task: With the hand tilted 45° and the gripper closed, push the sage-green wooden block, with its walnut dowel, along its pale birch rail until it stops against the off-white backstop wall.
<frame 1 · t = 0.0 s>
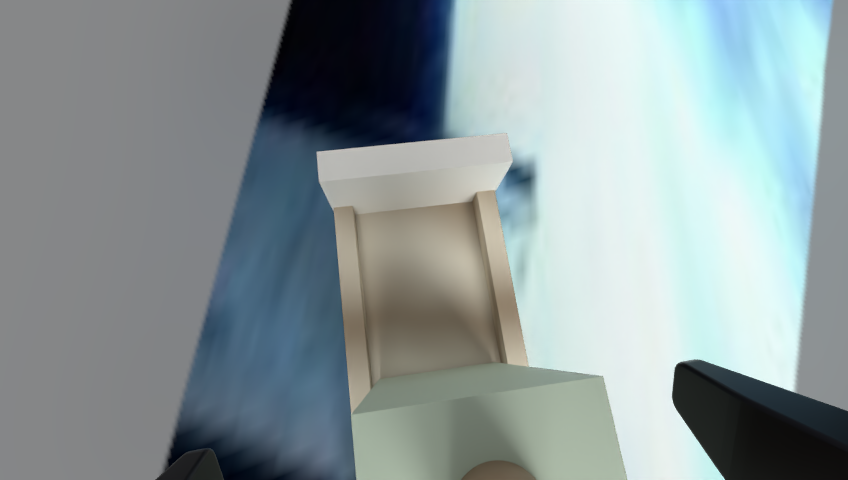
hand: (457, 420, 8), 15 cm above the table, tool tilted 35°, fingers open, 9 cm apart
sliding block: (467, 461, 13), point 9 cm above the table, slide at 0.0 cm
birch rail: (430, 331, 23), on the table
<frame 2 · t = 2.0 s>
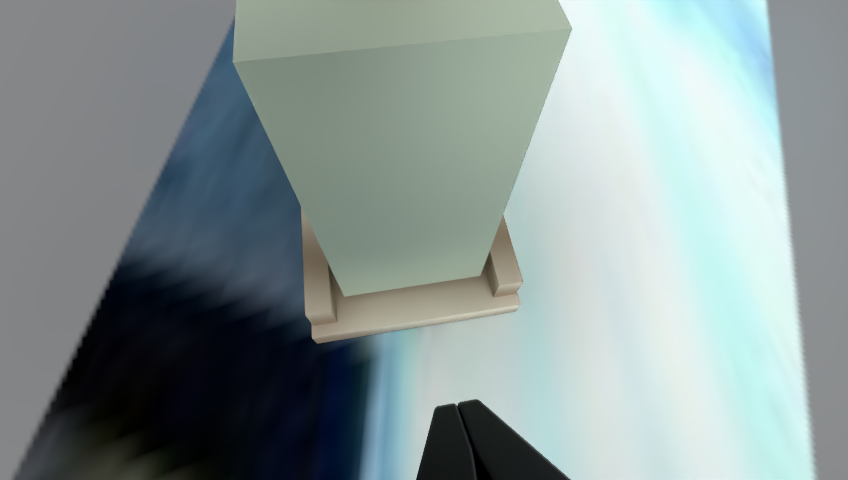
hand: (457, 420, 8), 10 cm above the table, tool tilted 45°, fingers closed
sliding block: (398, 120, 12), point 9 cm above the table, slide at 0.0 cm
birch rail: (393, 173, 22), on the table
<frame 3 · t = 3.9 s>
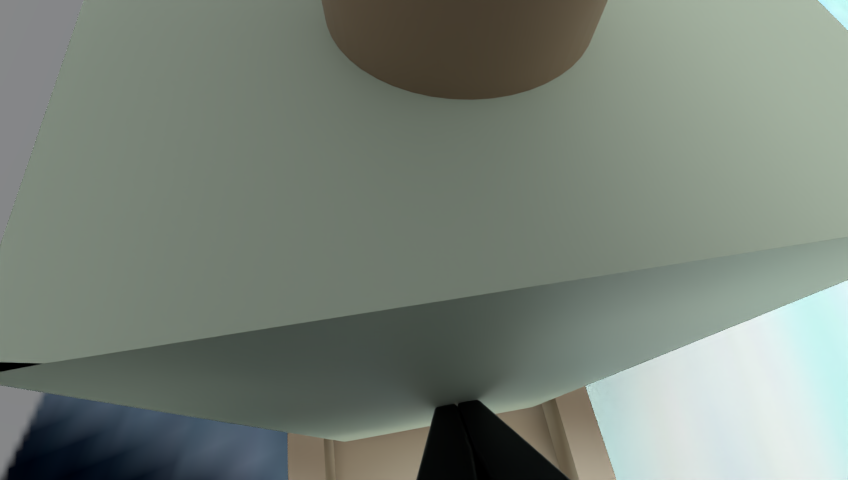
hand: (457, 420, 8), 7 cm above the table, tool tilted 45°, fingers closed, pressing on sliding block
sliding block: (436, 247, 7), point 9 cm above the table, slide at 1.5 cm, touching gripper
birch rail: (413, 277, 17), on the table
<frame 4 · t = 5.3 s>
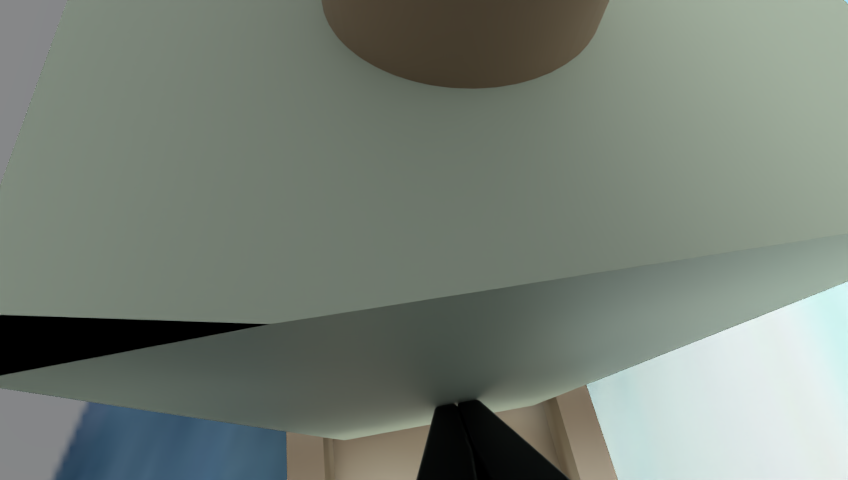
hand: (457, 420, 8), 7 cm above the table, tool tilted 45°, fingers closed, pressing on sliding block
sliding block: (436, 243, 7), point 9 cm above the table, slide at 8.0 cm, touching gripper
birch rail: (444, 457, 14), on the table
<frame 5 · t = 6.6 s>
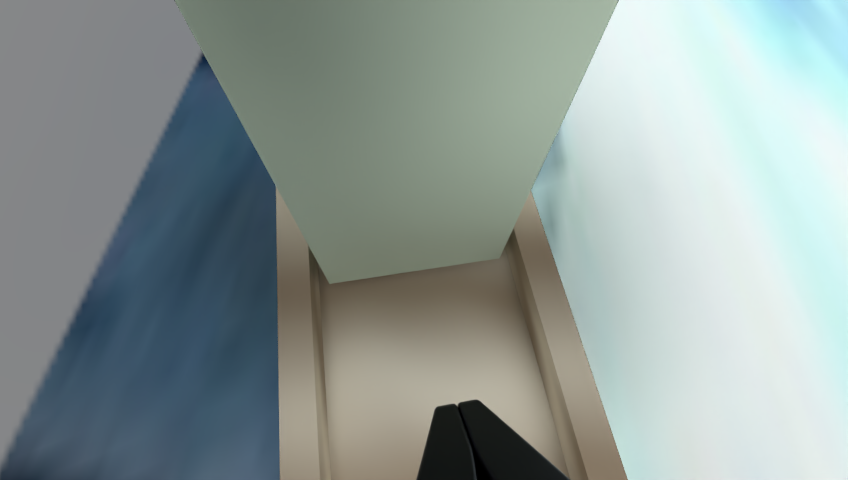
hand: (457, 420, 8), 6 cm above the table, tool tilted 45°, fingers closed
sliding block: (397, 29, 9), point 9 cm above the table, slide at 8.2 cm
birch rail: (421, 313, 15), on the table
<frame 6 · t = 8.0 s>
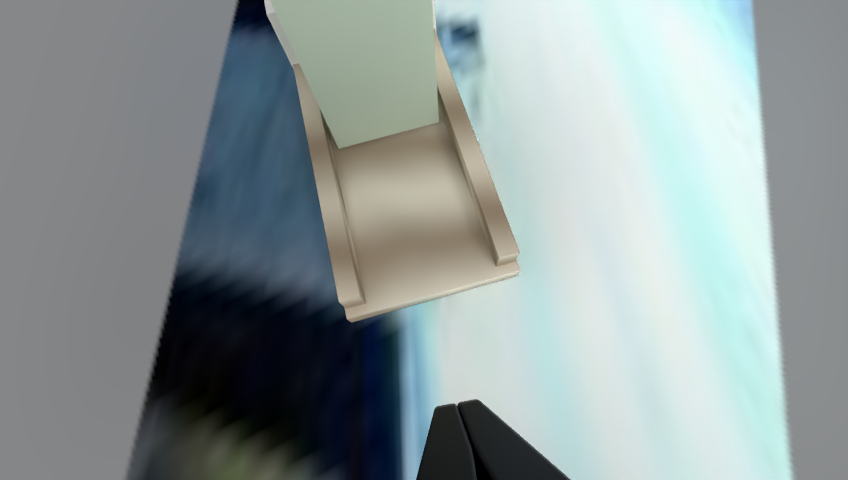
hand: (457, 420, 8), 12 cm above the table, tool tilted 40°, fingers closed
birch rail: (396, 164, 25), on the table
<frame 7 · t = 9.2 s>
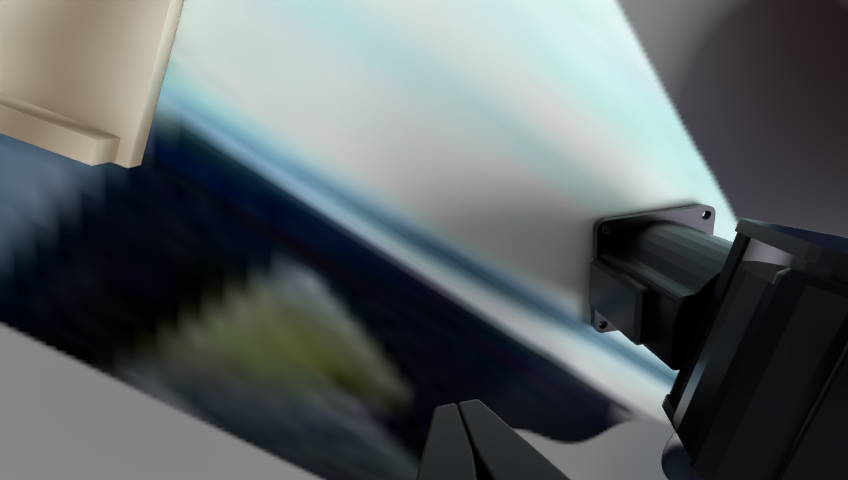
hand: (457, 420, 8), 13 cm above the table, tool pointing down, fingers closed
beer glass: (700, 447, 28), on the table
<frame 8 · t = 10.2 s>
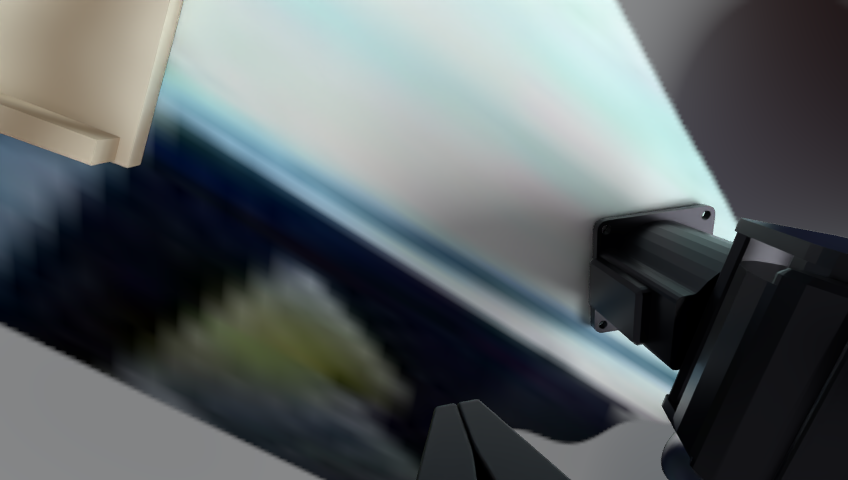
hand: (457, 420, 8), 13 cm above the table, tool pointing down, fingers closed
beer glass: (700, 447, 28), on the table
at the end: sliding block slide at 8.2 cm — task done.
